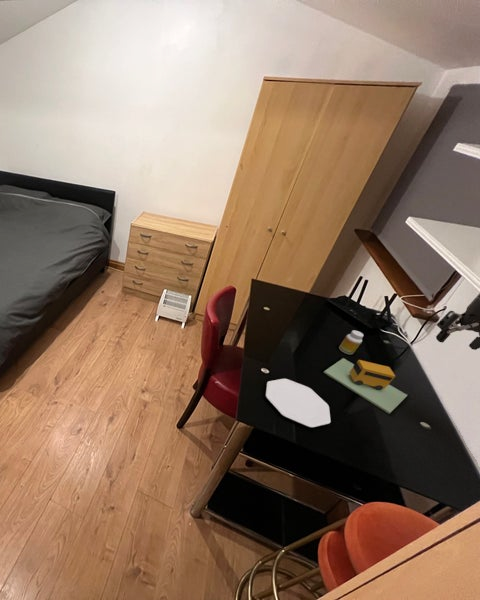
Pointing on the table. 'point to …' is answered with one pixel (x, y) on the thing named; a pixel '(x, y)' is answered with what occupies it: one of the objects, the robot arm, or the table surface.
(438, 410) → the table surface
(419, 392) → the table surface
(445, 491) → the table surface
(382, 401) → the mat
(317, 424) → the plate
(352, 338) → the supplement bottle
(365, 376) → the toy bus
